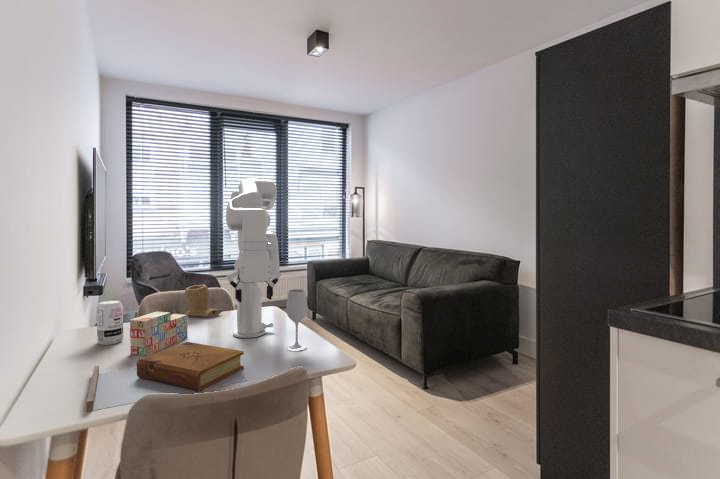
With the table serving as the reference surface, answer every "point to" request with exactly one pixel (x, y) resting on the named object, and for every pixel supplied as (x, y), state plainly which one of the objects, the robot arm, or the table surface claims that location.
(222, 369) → the diary
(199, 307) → the stone cup
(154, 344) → the stack of blocks
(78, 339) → the table surface
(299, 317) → the wineglass
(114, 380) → the display board
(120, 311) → the supplement can
